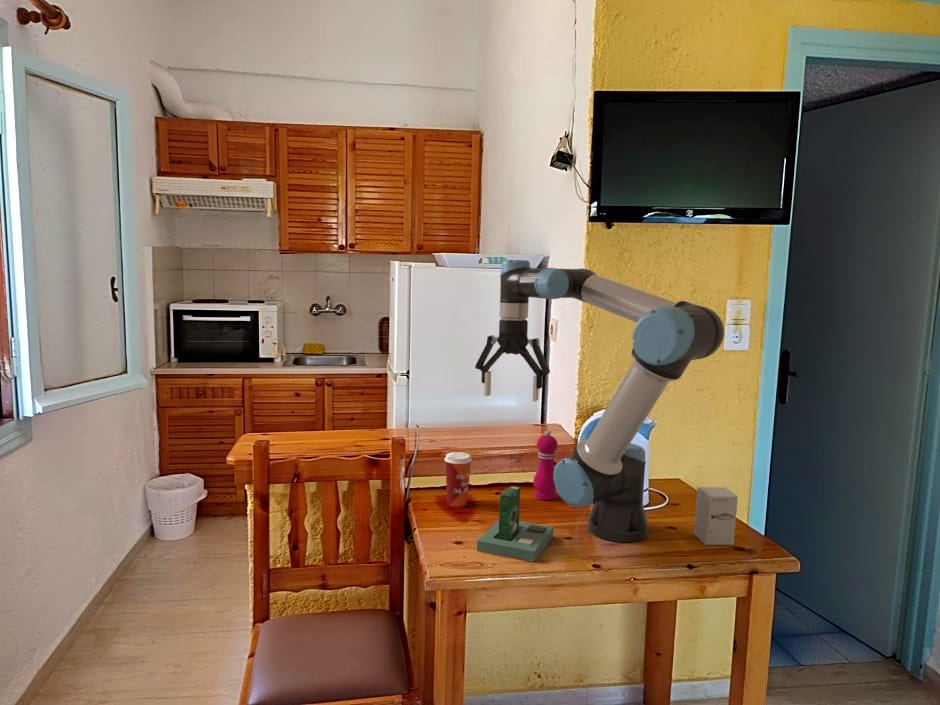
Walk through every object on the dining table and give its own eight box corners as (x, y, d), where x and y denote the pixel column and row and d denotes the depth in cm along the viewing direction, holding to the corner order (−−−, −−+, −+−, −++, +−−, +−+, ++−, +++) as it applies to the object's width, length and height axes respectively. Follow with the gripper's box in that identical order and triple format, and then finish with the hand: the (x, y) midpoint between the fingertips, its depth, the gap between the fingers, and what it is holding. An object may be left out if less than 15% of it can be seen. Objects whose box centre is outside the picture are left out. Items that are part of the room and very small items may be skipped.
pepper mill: (539, 502, 191) (542, 434, 188) (528, 494, 197) (530, 428, 195) (562, 500, 193) (564, 432, 191) (550, 492, 200) (552, 426, 197)
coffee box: (508, 535, 167) (510, 484, 165) (519, 537, 166) (521, 486, 164) (497, 547, 160) (498, 494, 158) (508, 549, 159) (510, 496, 157)
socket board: (553, 536, 167) (553, 525, 166) (533, 562, 152) (534, 549, 152) (500, 527, 172) (500, 516, 172) (477, 550, 157) (477, 538, 157)
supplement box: (705, 546, 163) (709, 496, 162) (693, 534, 171) (696, 486, 169) (734, 545, 164) (738, 496, 162) (721, 533, 171) (724, 486, 170)
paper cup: (461, 510, 183) (462, 460, 182) (438, 504, 187) (439, 456, 186) (476, 502, 190) (477, 454, 188) (453, 496, 194) (454, 449, 192)
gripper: (563, 320, 175) (560, 400, 178) (475, 315, 184) (473, 391, 187) (555, 322, 168) (552, 405, 171) (464, 317, 177) (462, 395, 180)
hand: (511, 398), depth 179 cm, fingers open, 13 cm apart
